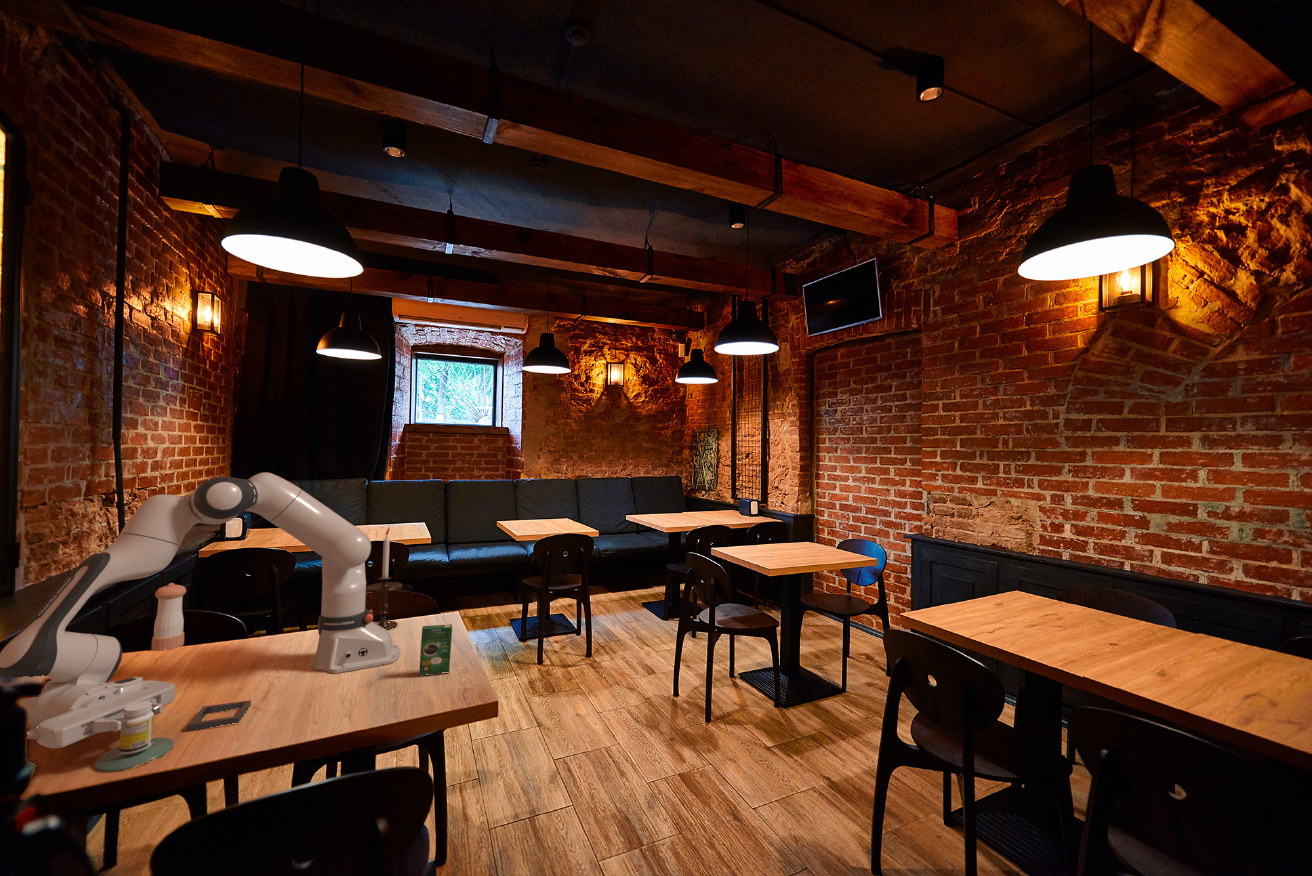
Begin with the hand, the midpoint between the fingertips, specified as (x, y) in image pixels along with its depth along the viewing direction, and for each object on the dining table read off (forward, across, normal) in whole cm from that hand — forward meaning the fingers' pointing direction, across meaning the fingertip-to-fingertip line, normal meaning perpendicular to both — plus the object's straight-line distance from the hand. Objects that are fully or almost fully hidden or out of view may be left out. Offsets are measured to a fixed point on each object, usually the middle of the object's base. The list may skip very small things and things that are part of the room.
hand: (141, 717), depth 104 cm
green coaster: (-1, 0, +8) cm, 8 cm away
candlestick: (-9, +78, +8) cm, 79 cm away
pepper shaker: (-57, +46, +8) cm, 74 cm away
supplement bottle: (-1, 0, +6) cm, 6 cm away
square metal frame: (0, +16, +8) cm, 17 cm away
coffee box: (+32, +50, +8) cm, 59 cm away
